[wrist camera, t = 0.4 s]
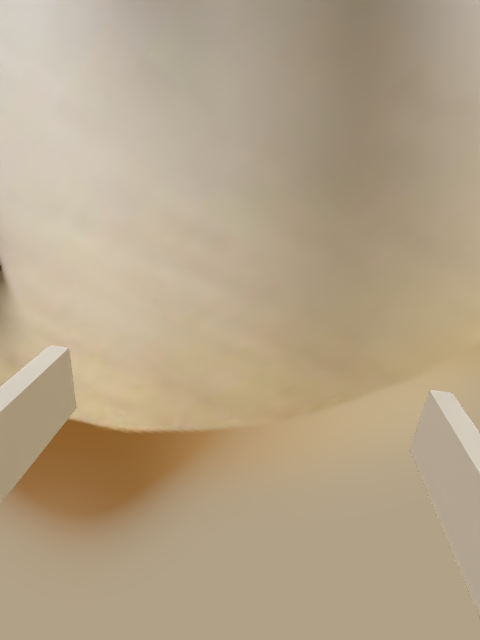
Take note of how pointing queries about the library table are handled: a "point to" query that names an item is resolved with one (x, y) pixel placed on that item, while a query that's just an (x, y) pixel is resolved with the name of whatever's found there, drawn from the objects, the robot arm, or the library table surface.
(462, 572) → the robot arm
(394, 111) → the library table surface
